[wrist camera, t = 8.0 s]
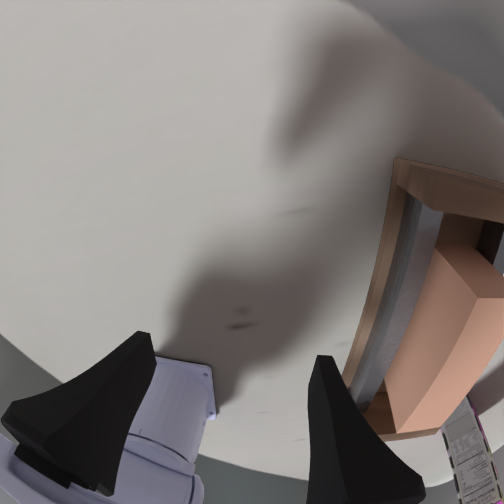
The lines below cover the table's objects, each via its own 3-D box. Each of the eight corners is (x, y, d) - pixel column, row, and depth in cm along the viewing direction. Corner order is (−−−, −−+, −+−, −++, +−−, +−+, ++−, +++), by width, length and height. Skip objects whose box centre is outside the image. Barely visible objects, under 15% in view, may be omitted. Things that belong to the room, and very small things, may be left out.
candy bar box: (478, 415, 27) (504, 503, 13) (451, 432, 29) (471, 520, 15) (467, 389, 25) (504, 500, 10) (433, 410, 26) (459, 523, 12)
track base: (421, 389, 25) (434, 434, 19) (334, 393, 26) (338, 444, 20) (504, 184, 15) (554, 211, 10) (394, 157, 16) (437, 177, 11)
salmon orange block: (419, 365, 22) (440, 426, 16) (381, 366, 22) (396, 433, 16) (469, 244, 16) (523, 298, 10) (426, 238, 17) (477, 298, 11)
